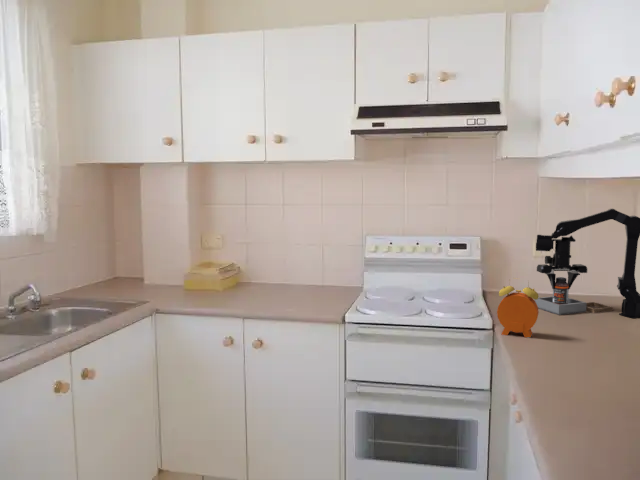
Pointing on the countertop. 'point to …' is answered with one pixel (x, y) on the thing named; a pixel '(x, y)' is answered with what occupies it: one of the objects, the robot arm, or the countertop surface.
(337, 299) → the countertop surface
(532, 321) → the alarm clock
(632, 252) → the robot arm
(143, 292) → the countertop surface
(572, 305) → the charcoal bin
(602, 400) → the countertop surface
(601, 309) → the tan wooden square frame
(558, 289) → the supplement bottle
